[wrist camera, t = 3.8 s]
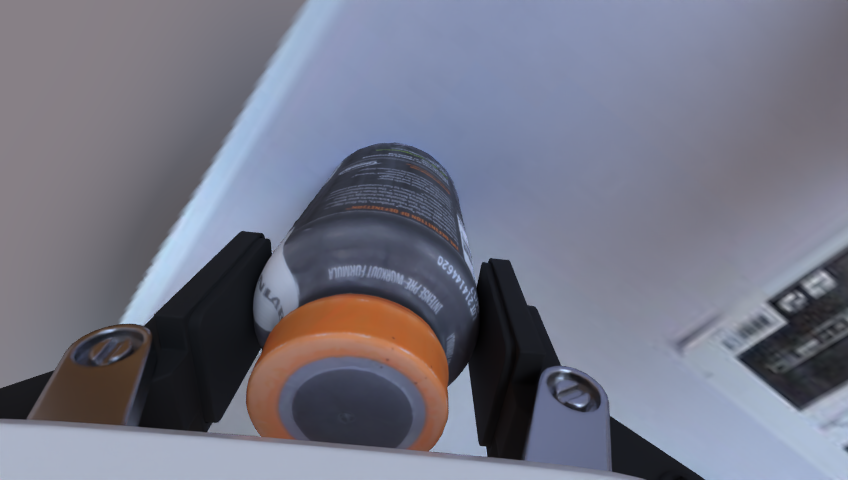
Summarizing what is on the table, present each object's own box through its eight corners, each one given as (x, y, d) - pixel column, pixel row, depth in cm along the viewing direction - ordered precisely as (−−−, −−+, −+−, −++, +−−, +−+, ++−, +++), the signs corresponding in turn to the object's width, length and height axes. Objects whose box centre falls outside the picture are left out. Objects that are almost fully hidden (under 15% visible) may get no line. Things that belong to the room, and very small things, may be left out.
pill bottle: (299, 202, 18) (122, 409, 7) (394, 109, 16) (331, 214, 6) (392, 285, 19) (352, 544, 9) (486, 211, 18) (564, 428, 8)
